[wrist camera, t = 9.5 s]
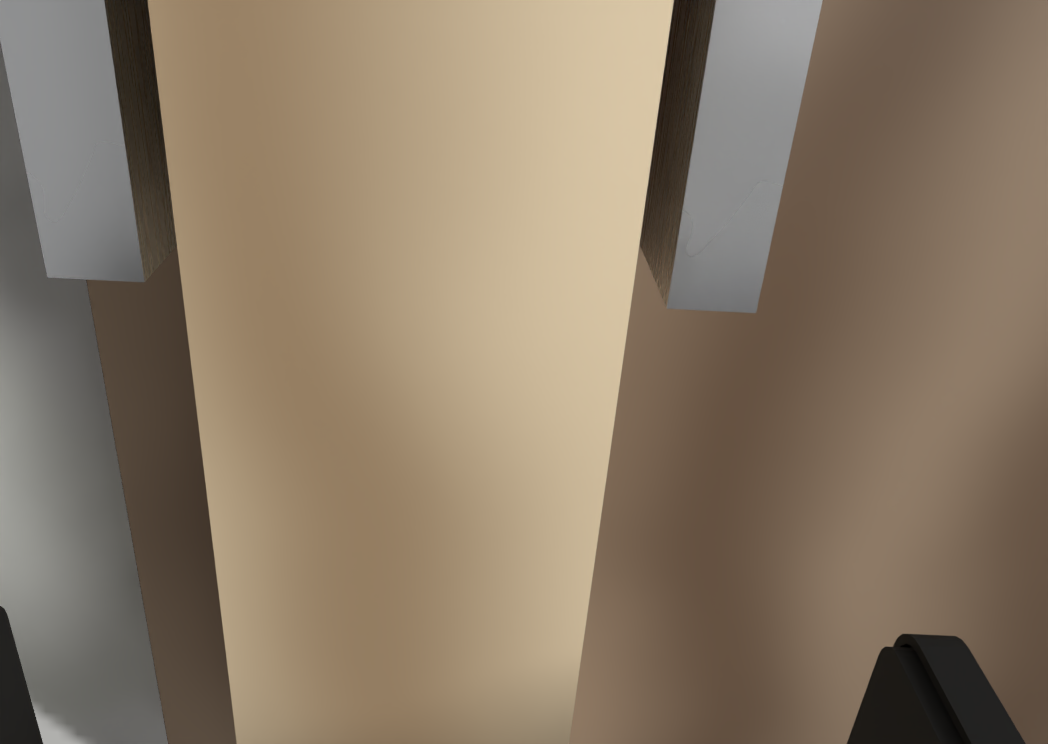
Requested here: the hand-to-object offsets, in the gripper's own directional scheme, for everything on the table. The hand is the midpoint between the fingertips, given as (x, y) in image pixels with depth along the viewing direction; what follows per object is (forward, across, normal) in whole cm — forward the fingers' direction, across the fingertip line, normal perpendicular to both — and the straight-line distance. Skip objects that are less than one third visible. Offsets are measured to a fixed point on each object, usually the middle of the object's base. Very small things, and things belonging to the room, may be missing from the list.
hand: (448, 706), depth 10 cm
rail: (+6, +1, -1) cm, 6 cm away
